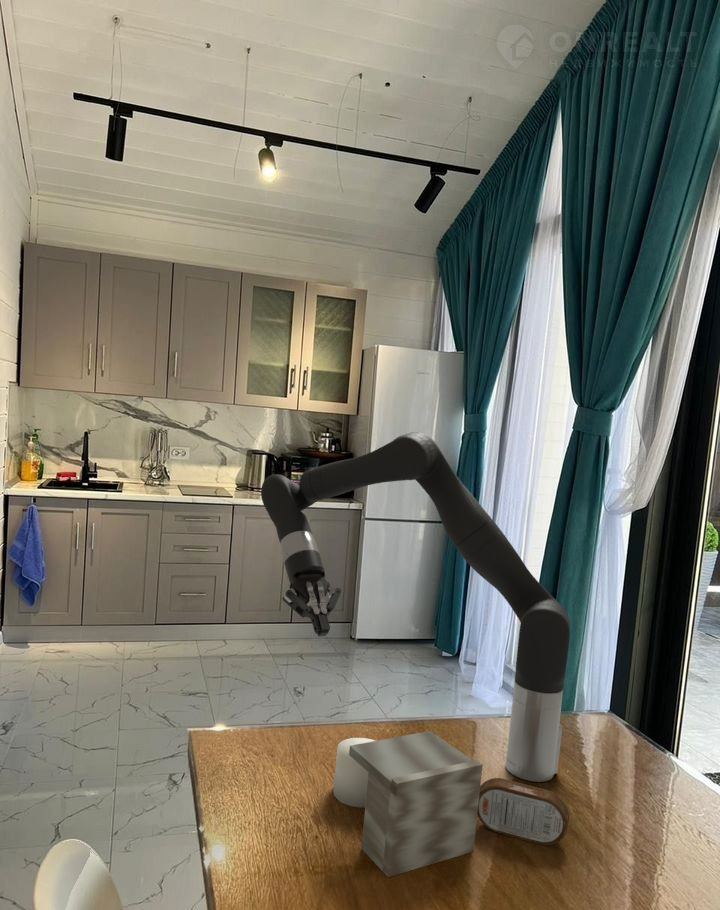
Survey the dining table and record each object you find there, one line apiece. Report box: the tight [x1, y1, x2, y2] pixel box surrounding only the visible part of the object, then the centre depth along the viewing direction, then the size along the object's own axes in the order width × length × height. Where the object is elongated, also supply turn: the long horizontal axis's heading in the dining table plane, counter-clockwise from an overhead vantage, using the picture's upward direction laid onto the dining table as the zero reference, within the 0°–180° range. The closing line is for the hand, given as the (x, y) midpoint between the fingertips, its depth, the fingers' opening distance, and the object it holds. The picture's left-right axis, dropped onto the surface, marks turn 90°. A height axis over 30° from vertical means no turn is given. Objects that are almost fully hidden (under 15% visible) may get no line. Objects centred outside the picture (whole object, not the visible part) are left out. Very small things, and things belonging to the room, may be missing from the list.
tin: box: [477, 777, 570, 846], centre depth 119 cm, size 15×3×8 cm, turn 71°
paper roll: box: [333, 737, 376, 809], centre depth 128 cm, size 9×9×8 cm
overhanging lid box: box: [349, 730, 484, 878], centre depth 115 cm, size 16×14×14 cm
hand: (323, 634), depth 141 cm, fingers closed
